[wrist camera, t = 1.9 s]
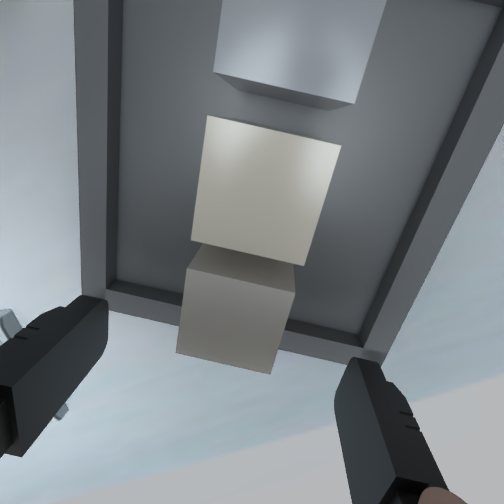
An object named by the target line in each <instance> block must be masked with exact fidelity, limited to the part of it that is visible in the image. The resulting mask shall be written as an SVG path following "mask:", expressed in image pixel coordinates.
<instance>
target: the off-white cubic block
mask: <svg viewBox="0 0 504 504" xmlns="http://www.w3.org/2000/svg"><path fill="white" fill-rule="evenodd" d="M340 149H341V145H338V144H336V143H333V142H330V141H327V140H325V139H322V138H318V137H314V136H309V135H305V134H301V133H296V132H292V131H287V130H283V129H279V128H274V127H270V126H265V125H261V124H257V123H252V122H248V121H243V120H239V119H235V118H228V117H219V116H210V115H207V122H206V129H205V137H204V144H203V152H202V159H201V167H200V174H199V182H198V189H197V197H196V204H195V212H194V219H193V227H192V234H191V240H192V241H197V242H201V243H206V244H210V245H214V246H219V247H223V248H227V249H232V250H236V251H241V252H245V253H249V254H254V255H258V256H262V257H267V258H271V259H275V260H280V261H284V262H289V263H293V264H297V265H302V266H304V264H305V261H306V258H307V255H308V252H309V248H310V245H311V242H312V239H313V235H314V232H315V229H316V226H317V223H318V219H319V216H320V213H321V210H322V207H323V203H324V200H325V197H326V194H327V191H328V187H329V184H330V181H331V178H332V174H333V171H334V168H335V165H336V162H337V158H338V155H339V152H340Z"/></svg>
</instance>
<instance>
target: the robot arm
mask: <svg viewBox="0 0 504 504" xmlns="http://www.w3.org/2000/svg"><path fill="white" fill-rule="evenodd" d="M108 315H109V304H108V301H107V300H105V299H101V298H96V297H92V296H87V295H80V296H79V297H77V298H76V299H75V300H74V301H72V302H71V303H70V304H69V305H68V306H66V307H61V306H59V307H57V308H55V309H52V310H50V311H48V312H45V313H43V314H41V315H40V316H38V317H37V318H36V319H34V320H33V321H32V322H30V323H29V324H28V325H27V326H26V328H23V329H21V330H20V331H19V332H18V333H16V334H15V335H14V337H13V338H10V339H9V340H7V341H6V342H5V343H3V344H2V345H1V346H0V458H1V457H2V456H3V454H4V453H5V454H10V455H14V456H18V457H22V456H23V455H24V454H25V453H26V451H27V450H28V449H29V448H30V446H31V445H32V444H33V442H34V441H35V440H36V439H37V437H38V436H39V435H40V434H41V432H42V431H43V430H44V429H45V427H46V426H47V425H48V423H49V422H50V421H51V420H52V418H53V417H54V416H55V415H56V413H57V412H58V411H59V409H60V408H61V407H62V406H63V404H64V403H65V402H66V401H67V399H68V398H69V397H70V395H71V394H72V393H73V392H74V390H75V389H76V388H77V387H78V385H79V384H80V383H81V381H82V380H83V379H84V378H85V376H86V375H87V374H88V373H89V371H90V370H91V369H92V367H93V366H94V365H95V364H96V362H97V361H98V360H99V359H100V357H101V356H102V354H103V352H104V350H105V348H106V345H107V341H108ZM334 411H335V416H336V422H337V427H338V432H339V437H340V442H341V447H342V452H343V458H344V462H345V468H346V473H347V479H348V484H349V489H350V494H351V499H352V504H467V503H466V502H464V501H463V500H462V499H461V498H459V497H458V496H456V495H455V494H453V493H452V492H450V491H449V489H448V488H447V486H446V484H445V481H444V479H443V477H442V475H441V473H440V470H439V468H438V466H437V464H436V462H435V460H434V458H433V455H432V453H431V451H430V449H429V447H428V445H427V443H426V440H425V438H424V436H423V434H422V432H420V428H419V426H418V423H417V421H416V419H415V418H414V417H413V413H412V410H411V408H410V406H409V404H408V402H407V400H406V398H405V397H404V395H403V394H402V393H401V392H400V391H399V389H398V388H397V387H396V386H395V385H394V384H393V383H392V382H388V381H386V379H385V377H384V374H383V372H382V369H381V367H380V365H379V364H378V363H377V362H375V361H371V360H366V359H362V358H357V357H352V358H351V359H350V361H349V363H348V365H347V367H346V370H345V372H344V374H343V376H342V379H341V381H340V383H339V386H338V388H337V390H336V394H335V399H334Z"/></svg>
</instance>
